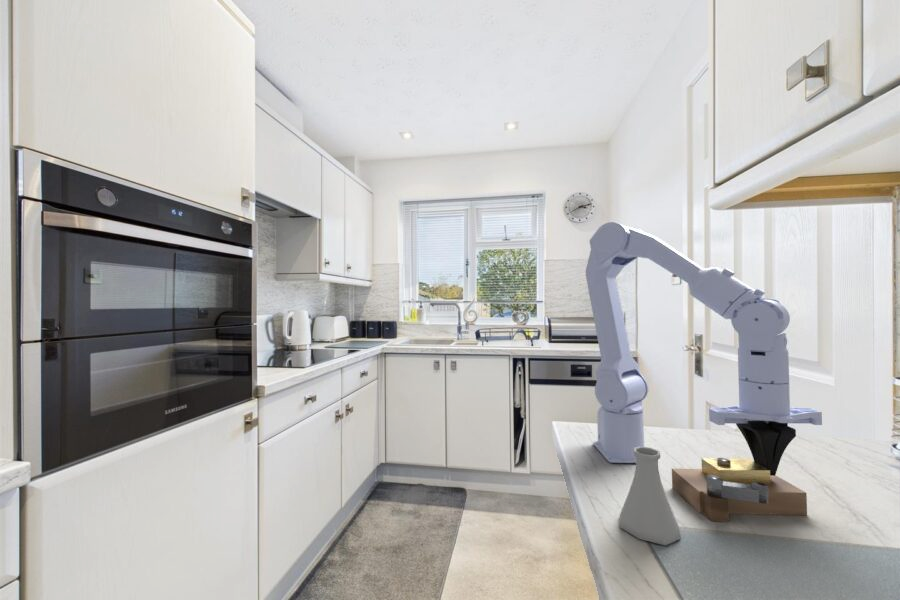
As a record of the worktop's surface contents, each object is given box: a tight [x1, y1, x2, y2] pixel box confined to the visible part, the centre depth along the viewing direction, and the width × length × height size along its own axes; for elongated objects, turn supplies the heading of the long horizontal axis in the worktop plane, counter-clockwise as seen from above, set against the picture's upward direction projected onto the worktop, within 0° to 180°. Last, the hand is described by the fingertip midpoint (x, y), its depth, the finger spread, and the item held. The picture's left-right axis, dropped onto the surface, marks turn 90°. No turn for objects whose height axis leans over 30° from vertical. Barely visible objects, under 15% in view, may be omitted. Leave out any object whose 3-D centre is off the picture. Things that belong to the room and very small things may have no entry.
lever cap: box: [701, 457, 771, 485], centre depth 54 cm, size 4×7×3 cm, turn 87°
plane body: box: [671, 468, 808, 522], centre depth 53 cm, size 9×14×3 cm, turn 86°
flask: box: [618, 446, 682, 546], centre depth 48 cm, size 7×7×10 cm
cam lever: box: [706, 475, 769, 504], centre depth 49 cm, size 7×2×2 cm, turn 70°
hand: (765, 472), depth 54 cm, fingers closed
